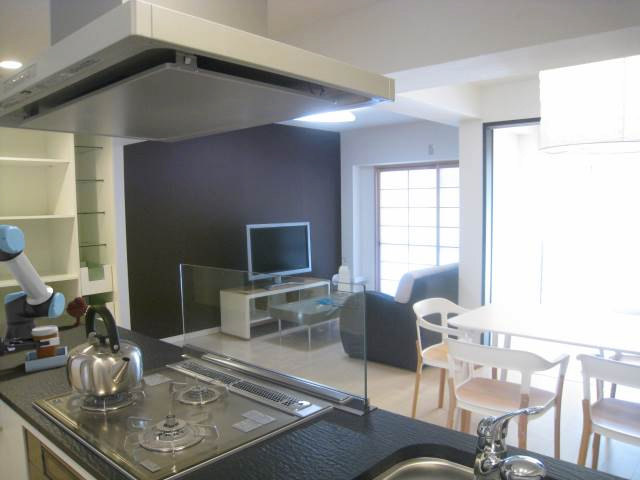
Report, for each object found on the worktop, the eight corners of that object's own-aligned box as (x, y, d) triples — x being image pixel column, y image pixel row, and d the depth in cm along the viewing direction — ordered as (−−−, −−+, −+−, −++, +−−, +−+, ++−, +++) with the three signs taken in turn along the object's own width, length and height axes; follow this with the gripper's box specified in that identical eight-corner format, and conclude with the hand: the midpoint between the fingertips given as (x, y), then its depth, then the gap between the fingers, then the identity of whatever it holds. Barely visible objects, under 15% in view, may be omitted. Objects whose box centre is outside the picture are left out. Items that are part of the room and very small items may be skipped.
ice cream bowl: (86, 321, 274) (84, 294, 273) (92, 324, 265) (90, 296, 264) (65, 325, 267) (62, 297, 266) (70, 328, 259) (68, 300, 257)
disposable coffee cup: (48, 361, 195) (46, 331, 194) (27, 361, 197) (25, 330, 196) (65, 354, 204) (63, 325, 203) (45, 353, 206) (43, 325, 205)
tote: (27, 362, 204) (26, 352, 203) (67, 355, 211) (66, 346, 210) (25, 372, 191) (24, 362, 191) (68, 365, 198) (67, 355, 197)
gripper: (-5, 351, 201) (59, 341, 212) (-10, 365, 183) (60, 353, 193) (-6, 332, 201) (58, 324, 211) (-12, 344, 182) (58, 334, 193)
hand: (59, 338), depth 202 cm, fingers closed on disposable coffee cup, 8 cm apart
